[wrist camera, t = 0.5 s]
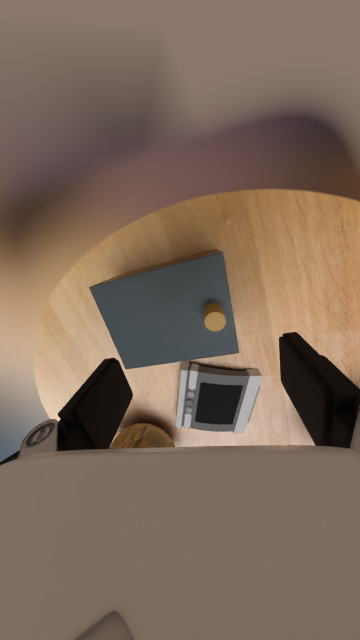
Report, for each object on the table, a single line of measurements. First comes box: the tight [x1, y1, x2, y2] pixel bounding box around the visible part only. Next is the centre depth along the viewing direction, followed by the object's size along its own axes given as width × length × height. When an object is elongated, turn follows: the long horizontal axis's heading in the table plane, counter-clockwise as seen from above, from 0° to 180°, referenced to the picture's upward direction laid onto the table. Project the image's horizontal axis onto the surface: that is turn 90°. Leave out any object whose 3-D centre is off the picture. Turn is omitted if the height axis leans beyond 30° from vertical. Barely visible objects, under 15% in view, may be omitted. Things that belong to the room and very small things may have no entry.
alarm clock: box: [176, 360, 262, 433], centre depth 40 cm, size 17×5×16 cm
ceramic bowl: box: [109, 423, 175, 449], centre depth 43 cm, size 22×17×15 cm
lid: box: [89, 252, 239, 369], centre depth 23 cm, size 14×18×4 cm
